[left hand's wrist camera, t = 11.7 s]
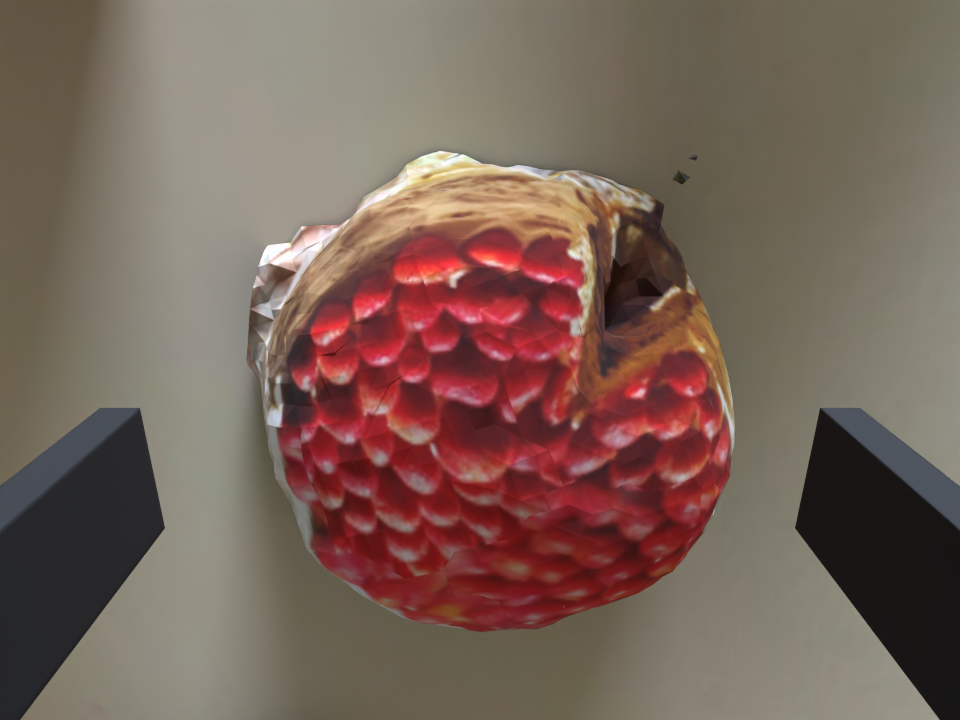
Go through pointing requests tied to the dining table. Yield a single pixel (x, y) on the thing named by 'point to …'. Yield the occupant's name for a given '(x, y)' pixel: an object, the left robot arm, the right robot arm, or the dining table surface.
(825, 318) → the dining table surface
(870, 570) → the left robot arm
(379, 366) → the cake
